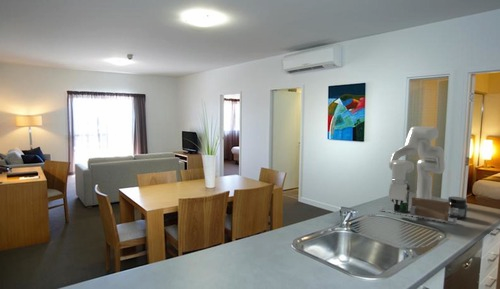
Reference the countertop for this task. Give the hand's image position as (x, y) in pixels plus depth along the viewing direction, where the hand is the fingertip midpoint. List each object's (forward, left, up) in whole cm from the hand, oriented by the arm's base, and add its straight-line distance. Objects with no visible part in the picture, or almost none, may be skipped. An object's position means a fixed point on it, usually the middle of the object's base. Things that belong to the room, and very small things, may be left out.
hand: (397, 210), depth 193 cm
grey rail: (-7, +9, -4) cm, 12 cm away
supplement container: (-22, +30, -4) cm, 38 cm away
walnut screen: (-3, +17, -3) cm, 17 cm away
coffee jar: (-14, 0, -4) cm, 14 cm away
